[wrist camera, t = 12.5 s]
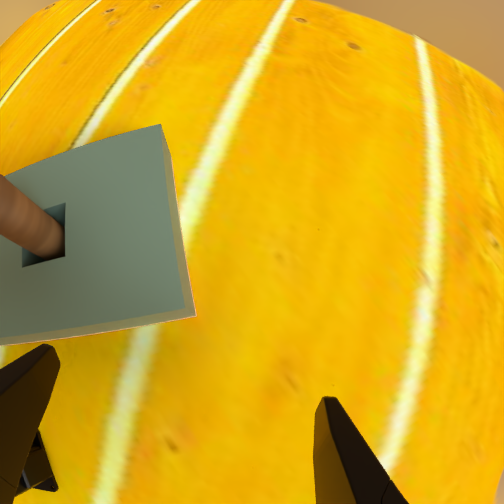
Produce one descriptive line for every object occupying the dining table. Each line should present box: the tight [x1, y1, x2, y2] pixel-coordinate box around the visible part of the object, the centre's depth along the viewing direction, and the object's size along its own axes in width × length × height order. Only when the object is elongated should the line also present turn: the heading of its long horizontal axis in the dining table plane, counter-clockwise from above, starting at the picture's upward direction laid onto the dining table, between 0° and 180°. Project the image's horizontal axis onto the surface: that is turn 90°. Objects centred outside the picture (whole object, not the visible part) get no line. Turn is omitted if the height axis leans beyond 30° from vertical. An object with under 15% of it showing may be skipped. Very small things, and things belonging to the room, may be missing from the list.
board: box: [0, 124, 197, 346], centre depth 21 cm, size 20×14×5 cm
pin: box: [0, 174, 65, 261], centre depth 18 cm, size 3×3×11 cm
